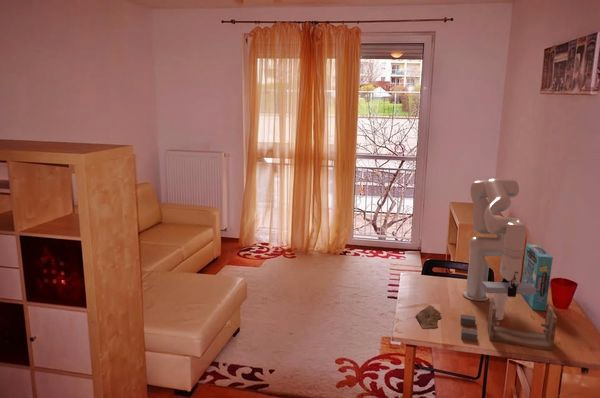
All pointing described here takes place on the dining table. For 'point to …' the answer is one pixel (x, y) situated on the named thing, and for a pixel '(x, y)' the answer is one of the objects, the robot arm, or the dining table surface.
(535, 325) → the dining table surface
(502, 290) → the shelf board
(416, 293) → the dining table surface
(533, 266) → the game box
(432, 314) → the wooden fragment
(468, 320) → the support blocks
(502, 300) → the drinking glass
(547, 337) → the shelf unit
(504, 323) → the dining table surface
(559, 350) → the dining table surface
